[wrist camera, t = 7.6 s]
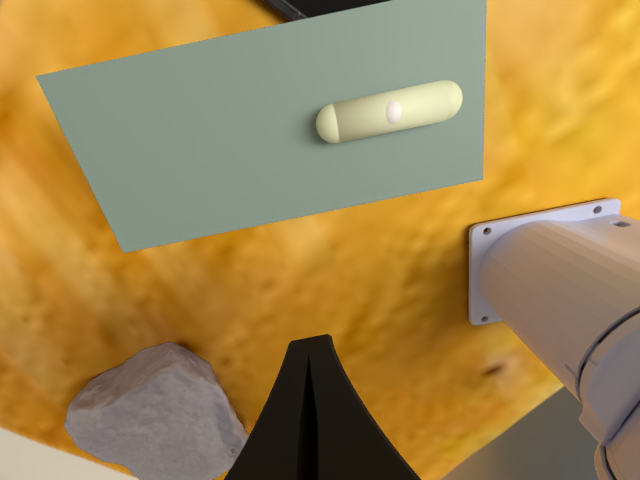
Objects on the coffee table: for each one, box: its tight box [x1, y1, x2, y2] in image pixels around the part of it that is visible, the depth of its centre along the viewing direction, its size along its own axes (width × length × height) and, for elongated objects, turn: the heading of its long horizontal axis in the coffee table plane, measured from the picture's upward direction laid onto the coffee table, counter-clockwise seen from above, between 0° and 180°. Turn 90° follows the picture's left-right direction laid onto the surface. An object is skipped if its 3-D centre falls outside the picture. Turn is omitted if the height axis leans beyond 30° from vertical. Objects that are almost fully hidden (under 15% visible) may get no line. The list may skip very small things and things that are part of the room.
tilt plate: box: [36, 0, 486, 253], centre depth 12 cm, size 16×7×3 cm, turn 101°
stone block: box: [64, 342, 249, 480], centre depth 24 cm, size 12×5×10 cm
